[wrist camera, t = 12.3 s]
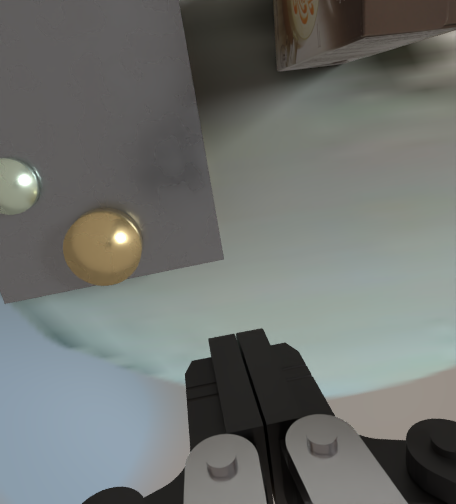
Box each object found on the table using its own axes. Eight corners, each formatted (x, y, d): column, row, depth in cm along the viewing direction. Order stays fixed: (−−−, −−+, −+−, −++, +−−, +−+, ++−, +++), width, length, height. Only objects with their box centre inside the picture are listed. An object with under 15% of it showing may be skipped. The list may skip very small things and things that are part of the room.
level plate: (-112, -48, 24) (-157, -76, 20) (162, -82, 25) (162, -113, 22) (12, 295, 31) (-6, 316, 27) (221, 253, 32) (227, 268, 29)
